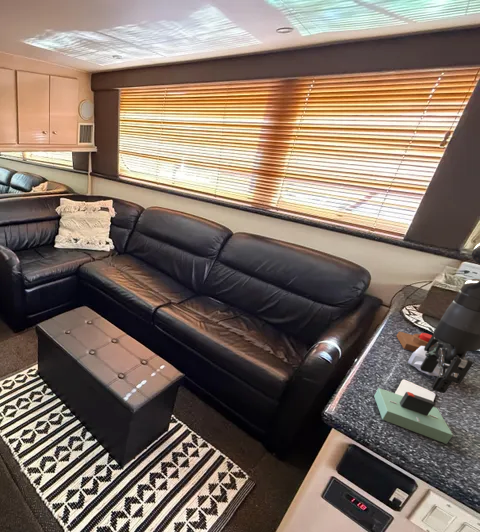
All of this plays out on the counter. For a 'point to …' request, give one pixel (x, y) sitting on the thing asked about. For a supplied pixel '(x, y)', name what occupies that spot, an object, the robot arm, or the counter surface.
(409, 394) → the black block
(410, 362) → the charger
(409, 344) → the button block
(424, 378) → the counter surface
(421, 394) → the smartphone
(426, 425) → the panel
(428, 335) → the power button
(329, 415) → the counter surface
